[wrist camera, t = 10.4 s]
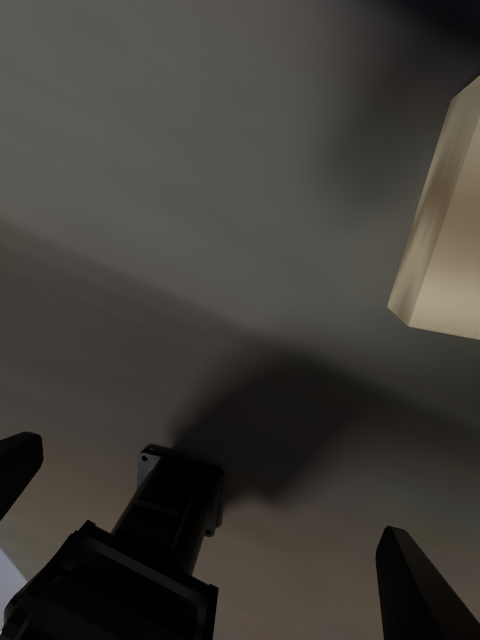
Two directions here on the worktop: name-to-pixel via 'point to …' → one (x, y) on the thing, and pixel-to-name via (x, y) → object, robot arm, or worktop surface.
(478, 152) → the birch block
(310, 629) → the worktop surface
